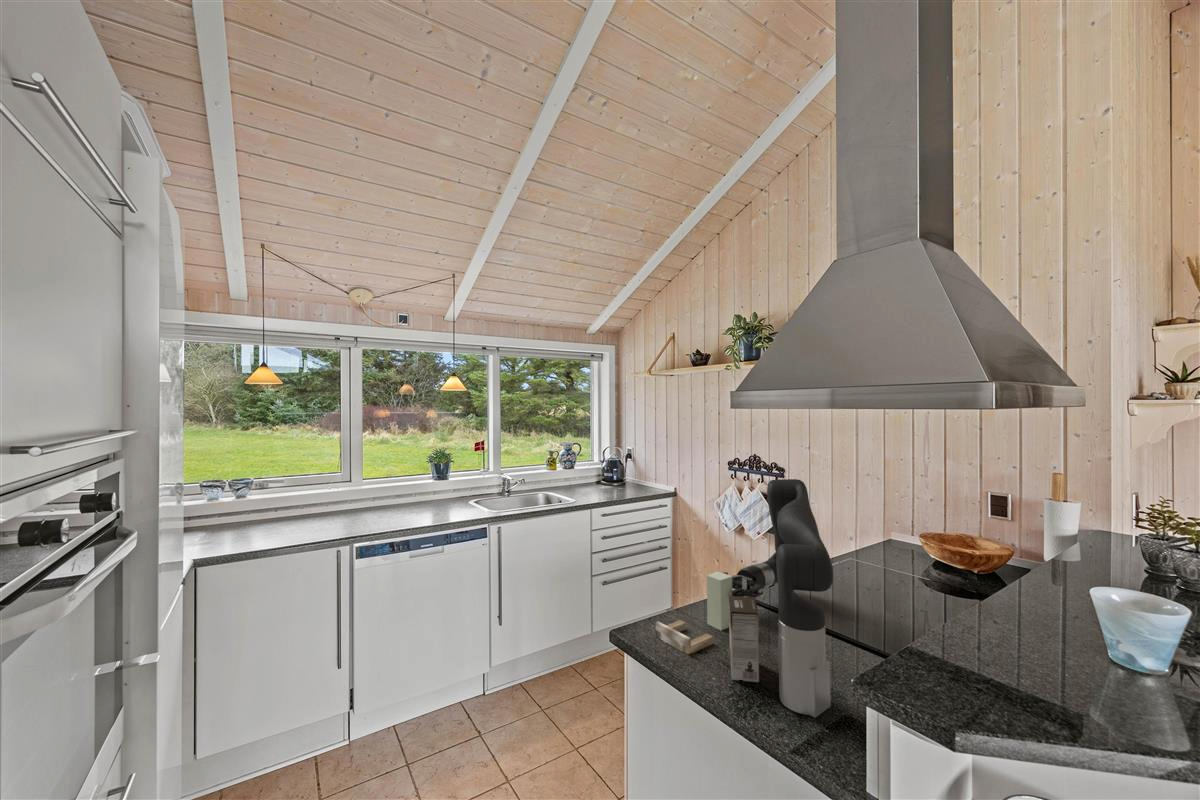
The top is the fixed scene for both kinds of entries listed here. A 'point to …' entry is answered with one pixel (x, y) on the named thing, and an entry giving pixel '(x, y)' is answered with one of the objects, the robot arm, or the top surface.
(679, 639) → the wooden lane
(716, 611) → the sage block
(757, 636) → the coffee box
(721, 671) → the top surface
